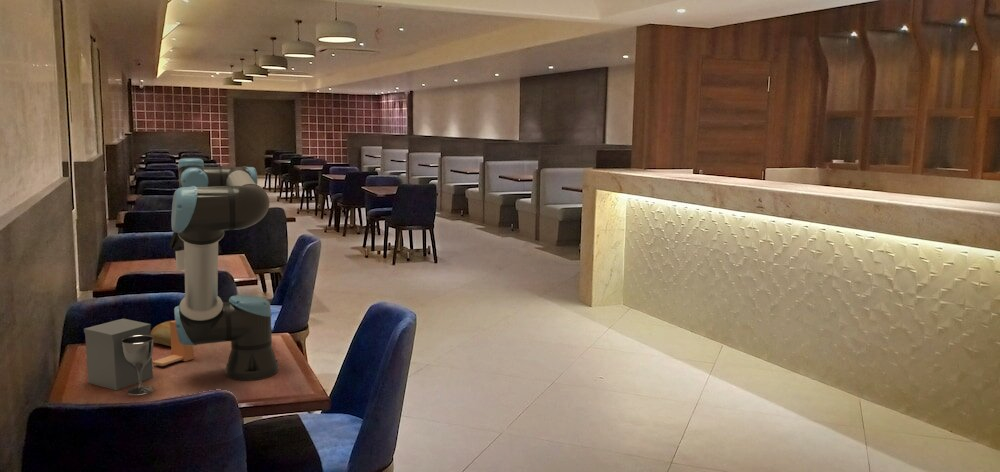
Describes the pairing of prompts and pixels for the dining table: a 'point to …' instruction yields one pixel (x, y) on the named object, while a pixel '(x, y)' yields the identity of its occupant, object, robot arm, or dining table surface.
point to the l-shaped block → (176, 349)
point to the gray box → (113, 354)
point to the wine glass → (138, 358)
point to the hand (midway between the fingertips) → (196, 272)
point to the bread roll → (162, 333)
